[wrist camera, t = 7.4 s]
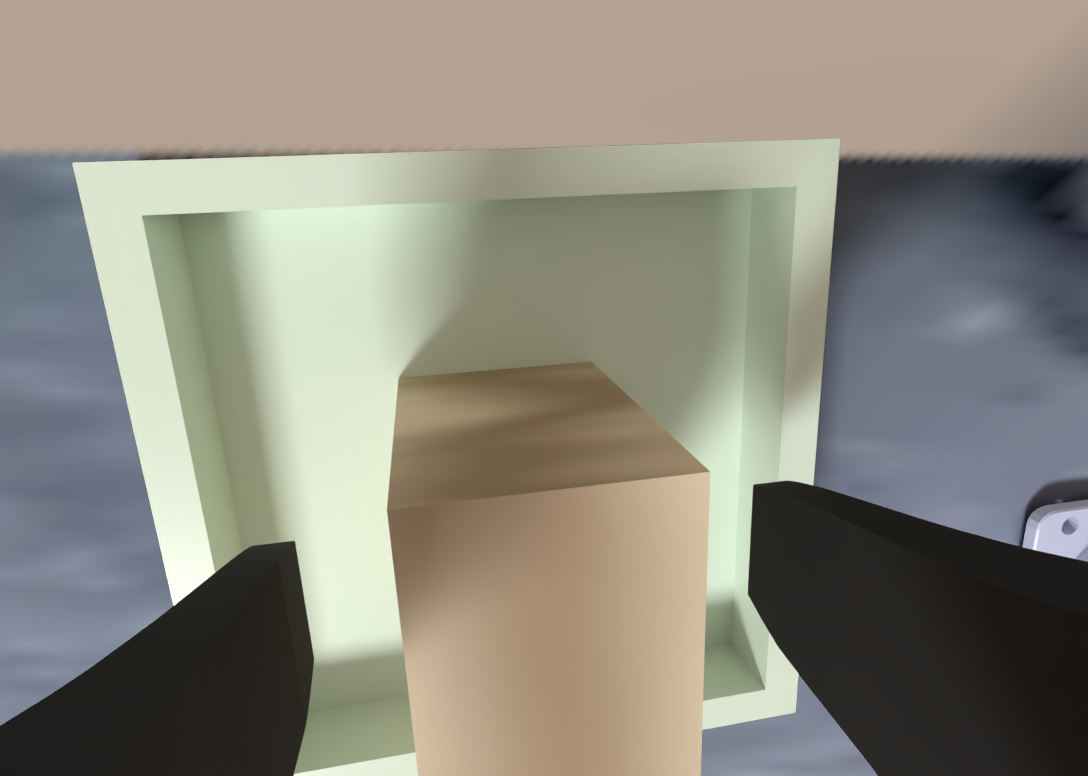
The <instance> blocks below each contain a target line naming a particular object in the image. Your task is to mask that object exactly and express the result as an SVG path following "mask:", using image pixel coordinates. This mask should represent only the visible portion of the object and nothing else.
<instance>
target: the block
mask: <svg viewBox="0 0 1088 776" xmlns="http://www.w3.org/2000/svg"><path fill="white" fill-rule="evenodd" d="M709 499H710V471H709V470H708V469H707V468H706V467H705V466H704V465H703V464H701V463H700V462H699V461H698V460H697V459H696V458H695V457H694V456H693V455H692V454H691V453H690V452H688V451H687V450H686V449H685V448H684V447H683V446H682V445H681V444H680V443H679V442H678V441H677V440H676V439H674V438H673V437H672V436H671V435H670V434H669V433H668V432H667V431H666V430H665V429H664V428H663V427H661V426H660V425H659V424H658V423H657V422H656V421H655V420H654V419H653V418H652V417H651V416H650V415H648V414H647V413H646V412H645V411H644V410H643V409H642V408H641V407H640V406H639V405H638V404H637V403H635V402H634V401H633V400H632V399H631V398H630V397H629V396H628V395H627V394H626V393H625V392H624V391H622V390H621V389H620V388H619V387H618V386H617V385H616V384H615V383H614V382H613V381H612V380H611V379H610V378H608V377H607V376H606V375H605V374H604V373H603V372H602V371H601V370H600V369H599V368H598V367H597V366H595V365H594V364H593V363H592V362H580V363H568V364H556V365H545V366H533V367H522V368H510V369H498V370H487V371H475V372H463V373H452V374H440V375H429V376H417V377H405V378H398V389H397V401H396V412H395V423H394V435H393V446H392V457H391V469H390V480H389V491H388V503H387V515H388V524H389V532H390V541H391V549H392V558H393V566H394V575H395V583H396V592H397V600H398V609H399V617H400V626H401V634H402V643H403V651H404V659H405V668H406V676H407V685H408V693H409V702H410V710H411V719H412V727H413V736H414V744H415V753H416V761H417V770H418V776H701V748H702V717H703V686H704V655H705V624H706V592H707V561H708V530H709Z"/></svg>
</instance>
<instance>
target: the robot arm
mask: <svg viewBox="0 0 1088 776" xmlns="http://www.w3.org/2000/svg"><path fill="white" fill-rule="evenodd" d="M748 596H749V597H750V599H751V601H752V603H753V605H754V607H755V608H756V610H757V612H758V614H759V616H760V617H761V619H762V621H763V623H764V625H765V626H766V628H767V629H768V631H769V633H770V634H771V636H772V638H773V639H774V641H775V643H776V644H777V646H778V647H779V649H780V650H781V651H782V653H783V654H784V655H785V657H786V658H787V659H788V661H789V662H790V663H791V665H792V666H793V667H794V668H795V670H796V671H797V672H798V674H799V675H800V676H801V678H802V679H803V680H804V681H805V683H806V684H807V685H808V687H809V688H810V689H811V690H812V692H813V693H814V694H815V695H816V697H817V698H818V699H819V701H820V702H821V703H822V704H823V706H824V707H825V708H826V709H827V711H828V712H829V713H830V714H831V716H832V717H833V718H834V720H835V721H836V722H837V723H838V725H839V726H840V727H841V728H842V730H843V731H844V732H845V733H846V735H847V736H848V737H849V739H850V740H851V741H852V742H853V744H854V745H855V746H856V747H857V749H858V750H859V751H860V753H861V754H862V755H863V756H864V758H865V759H866V760H867V761H868V763H869V764H870V765H871V767H872V768H873V769H874V771H875V772H876V773H877V775H878V776H1088V500H1081V501H1073V502H1066V503H1059V504H1052V505H1045V506H1042V507H1039V508H1038V509H1036V510H1035V511H1034V512H1032V514H1031V515H1030V516H1029V518H1028V521H1027V524H1026V529H1025V535H1024V540H1023V546H1022V547H1019V546H1015V545H1011V544H1007V543H1003V542H999V541H996V540H992V539H988V538H985V537H981V536H978V535H974V534H970V533H967V532H963V531H960V530H956V529H953V528H949V527H946V526H942V525H939V524H936V523H932V522H929V521H926V520H923V519H919V518H916V517H913V516H910V515H907V514H904V513H900V512H897V511H894V510H891V509H888V508H885V507H882V506H879V505H875V504H872V503H869V502H866V501H863V500H860V499H857V498H853V497H850V496H847V495H844V494H841V493H837V492H834V491H831V490H827V489H824V488H820V487H817V486H813V485H809V484H805V483H800V482H795V481H788V480H787V481H778V482H770V483H762V484H754V485H753V497H752V517H751V537H750V557H749V576H748ZM313 666H314V655H313V649H312V642H311V636H310V630H309V624H308V618H307V612H306V606H305V600H304V594H303V588H302V581H301V575H300V569H299V563H298V557H297V551H296V545H295V541H287V542H279V543H271V544H263V545H255V546H250V547H249V548H247V549H246V550H244V551H243V552H241V553H240V554H238V555H237V556H236V557H234V558H233V559H232V560H230V561H229V562H228V563H227V564H225V565H224V566H223V567H222V568H220V569H219V570H218V571H217V572H215V573H214V574H213V575H212V576H210V577H209V578H208V579H207V580H206V581H204V582H203V583H202V584H201V585H199V586H198V587H197V588H196V589H194V590H193V591H192V592H191V593H189V594H188V595H187V596H186V597H184V598H183V599H182V600H181V601H179V602H178V603H177V604H176V605H174V606H173V607H172V608H171V609H169V610H168V611H167V612H166V613H164V614H163V615H162V616H160V617H159V618H158V619H157V620H155V621H154V622H153V623H151V624H150V625H149V626H147V627H146V628H144V629H143V630H142V631H140V632H139V633H138V634H136V635H135V636H134V637H132V638H131V639H129V640H128V641H127V642H125V643H124V644H123V645H121V646H120V647H119V648H117V649H116V650H114V651H113V652H112V653H110V654H109V655H108V656H106V657H105V658H104V659H102V660H101V661H99V662H98V663H97V664H95V665H94V666H93V667H91V668H90V669H88V670H87V671H85V672H84V673H82V674H81V675H79V676H78V677H77V678H75V679H74V680H72V681H71V682H69V683H68V684H66V685H65V686H63V687H61V688H60V689H58V690H57V691H55V692H54V693H52V694H51V695H49V696H48V697H46V698H44V699H43V700H41V701H40V702H38V703H36V704H35V705H33V706H32V707H30V708H28V709H27V710H25V711H23V712H22V713H20V714H19V715H17V716H15V717H14V718H12V719H11V720H9V721H7V722H6V723H4V724H2V725H1V726H0V776H294V772H295V768H296V764H297V760H298V756H299V752H300V748H301V744H302V740H303V736H304V732H305V727H306V723H307V716H308V708H309V701H310V693H311V684H312V675H313Z"/></svg>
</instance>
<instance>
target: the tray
mask: <svg viewBox="0 0 1088 776" xmlns="http://www.w3.org/2000/svg"><path fill="white" fill-rule="evenodd" d="M840 140H841V138H833V139H802V140H770V141H738V142H707V143H677V144H645V145H613V146H582V147H551V148H519V149H488V150H457V151H426V152H394V153H363V154H332V155H300V156H269V157H238V158H207V159H175V160H144V161H113V162H81V163H72V164H73V168H74V172H75V177H76V181H77V185H78V190H79V194H80V199H81V203H82V207H83V212H84V216H85V220H86V225H87V229H88V234H89V238H90V242H91V247H92V251H93V255H94V260H95V264H96V269H97V273H98V277H99V282H100V286H101V290H102V295H103V299H104V304H105V308H106V312H107V317H108V321H109V325H110V330H111V334H112V339H113V343H114V347H115V352H116V356H117V360H118V365H119V369H120V374H121V378H122V382H123V387H124V391H125V395H126V400H127V404H128V409H129V413H130V417H131V422H132V426H133V430H134V435H135V439H136V444H137V448H138V452H139V457H140V461H141V465H142V470H143V474H144V479H145V483H146V487H147V492H148V496H149V500H150V505H151V509H152V514H153V518H154V522H155V527H156V531H157V535H158V540H159V544H160V549H161V553H162V557H163V562H164V566H165V570H166V575H167V579H168V584H169V588H170V592H171V597H172V601H173V605H176V604H177V603H178V602H179V601H181V600H182V599H183V598H184V597H186V596H187V595H188V594H189V593H191V592H192V591H193V590H194V589H196V588H197V587H198V586H199V585H201V584H202V583H203V582H204V581H206V580H207V579H208V578H209V577H210V576H212V575H213V574H214V573H215V572H217V571H218V570H219V569H220V568H222V567H223V566H224V565H225V564H227V563H228V562H229V561H230V560H232V559H233V558H234V557H236V556H237V555H238V554H240V553H241V552H243V551H244V550H246V549H247V548H249V547H250V546H255V545H263V544H271V543H279V542H287V541H295V545H296V551H297V557H298V563H299V569H300V575H301V581H302V588H303V594H304V600H305V606H306V612H307V618H308V624H309V630H310V636H311V642H312V649H313V655H314V666H313V675H312V684H311V693H310V701H309V708H308V716H307V723H306V727H305V732H304V736H303V740H302V744H301V748H300V752H299V756H298V760H297V764H296V768H295V772H294V776H418V770H417V761H416V753H415V744H414V736H413V727H412V719H411V710H410V702H409V693H408V685H407V676H406V668H405V659H404V651H403V643H402V634H401V626H400V617H399V609H398V600H397V592H396V583H395V575H394V566H393V558H392V549H391V541H390V532H389V524H388V515H387V503H388V491H389V480H390V469H391V457H392V446H393V435H394V423H395V412H396V401H397V389H398V378H405V377H417V376H429V375H440V374H452V373H463V372H475V371H487V370H498V369H510V368H522V367H533V366H545V365H556V364H568V363H580V362H592V363H593V364H594V365H595V366H597V367H598V368H599V369H600V370H601V371H602V372H603V373H604V374H605V375H606V376H607V377H608V378H610V379H611V380H612V381H613V382H614V383H615V384H616V385H617V386H618V387H619V388H620V389H621V390H622V391H624V392H625V393H626V394H627V395H628V396H629V397H630V398H631V399H632V400H633V401H634V402H635V403H637V404H638V405H639V406H640V407H641V408H642V409H643V410H644V411H645V412H646V413H647V414H648V415H650V416H651V417H652V418H653V419H654V420H655V421H656V422H657V423H658V424H659V425H660V426H661V427H663V428H664V429H665V430H666V431H667V432H668V433H669V434H670V435H671V436H672V437H673V438H674V439H676V440H677V441H678V442H679V443H680V444H681V445H682V446H683V447H684V448H685V449H686V450H687V451H688V452H690V453H691V454H692V455H693V456H694V457H695V458H696V459H697V460H698V461H699V462H700V463H701V464H703V465H704V466H705V467H706V468H707V469H708V470H709V471H710V499H709V530H708V561H707V592H706V624H705V655H704V686H703V717H702V730H704V729H709V728H715V727H720V726H726V725H731V724H736V723H742V722H747V721H752V720H758V719H763V718H768V717H774V716H779V715H784V714H790V713H795V711H796V698H797V685H798V672H797V671H796V670H795V668H794V667H793V666H792V665H791V663H790V662H789V661H788V659H787V658H786V657H785V655H784V654H783V653H782V651H781V650H780V649H779V647H778V646H777V644H776V643H775V641H774V639H773V638H772V636H771V634H770V633H769V631H768V629H767V628H766V626H765V625H764V623H763V621H762V619H761V617H760V616H759V614H758V612H757V610H756V608H755V607H754V605H753V603H752V601H751V599H750V597H749V596H748V576H749V557H750V537H751V517H752V497H753V485H754V484H762V483H770V482H778V481H787V480H788V481H795V482H800V483H805V484H809V485H813V482H814V470H815V457H816V444H817V432H818V419H819V406H820V393H821V381H822V368H823V355H824V343H825V330H826V317H827V305H828V292H829V279H830V267H831V254H832V241H833V229H834V216H835V203H836V191H837V178H838V165H839V152H840Z"/></svg>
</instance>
